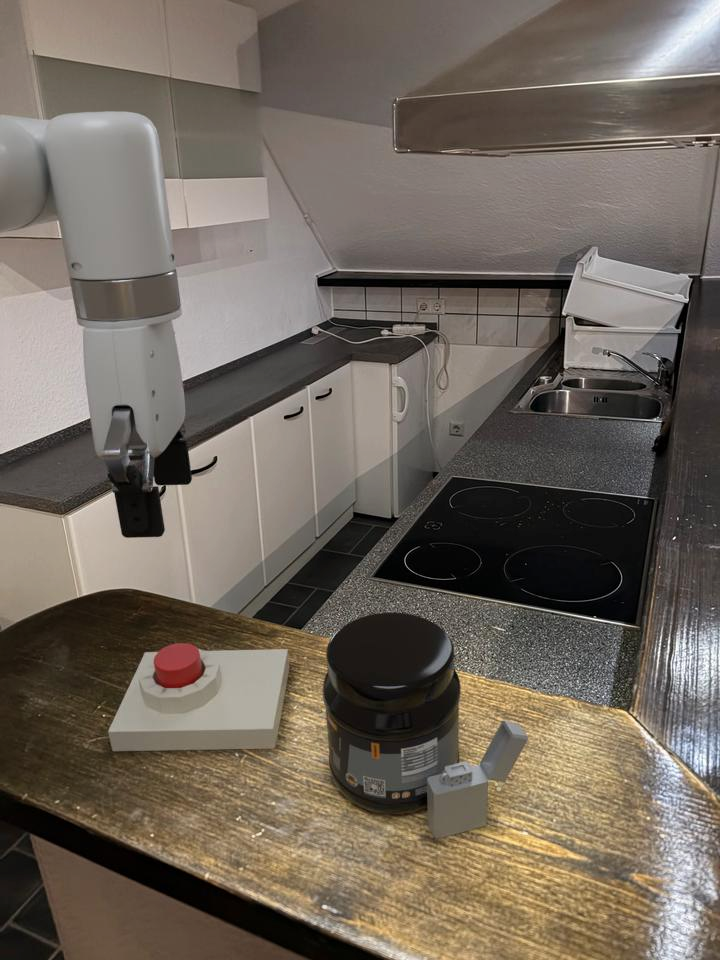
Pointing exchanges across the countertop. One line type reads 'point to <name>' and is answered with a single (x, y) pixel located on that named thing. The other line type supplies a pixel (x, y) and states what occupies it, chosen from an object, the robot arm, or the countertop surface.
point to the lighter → (472, 784)
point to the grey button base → (205, 705)
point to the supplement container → (390, 710)
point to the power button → (178, 665)
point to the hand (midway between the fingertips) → (160, 507)
